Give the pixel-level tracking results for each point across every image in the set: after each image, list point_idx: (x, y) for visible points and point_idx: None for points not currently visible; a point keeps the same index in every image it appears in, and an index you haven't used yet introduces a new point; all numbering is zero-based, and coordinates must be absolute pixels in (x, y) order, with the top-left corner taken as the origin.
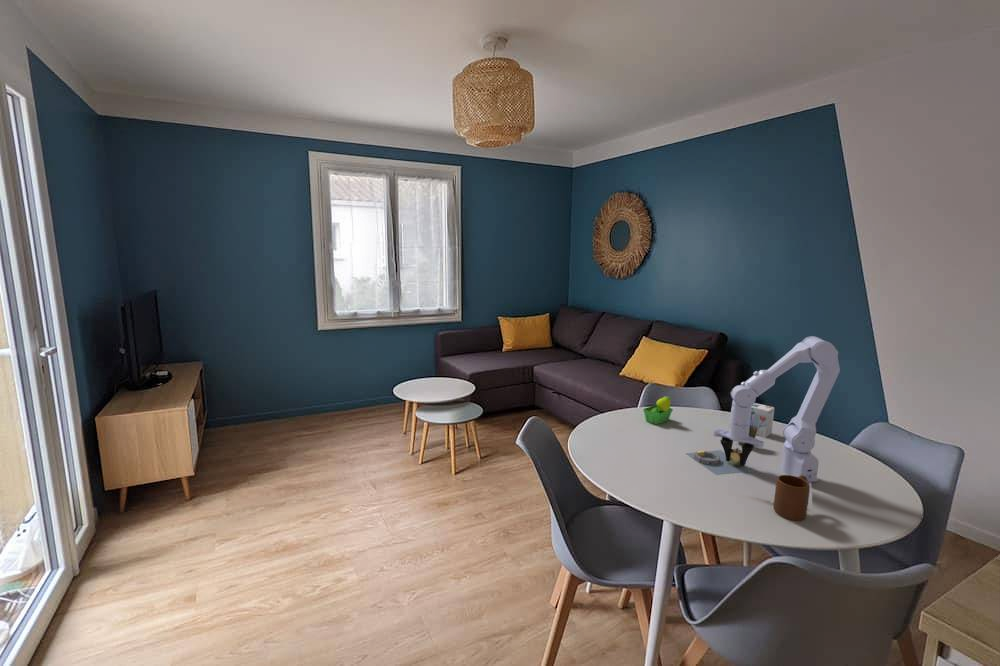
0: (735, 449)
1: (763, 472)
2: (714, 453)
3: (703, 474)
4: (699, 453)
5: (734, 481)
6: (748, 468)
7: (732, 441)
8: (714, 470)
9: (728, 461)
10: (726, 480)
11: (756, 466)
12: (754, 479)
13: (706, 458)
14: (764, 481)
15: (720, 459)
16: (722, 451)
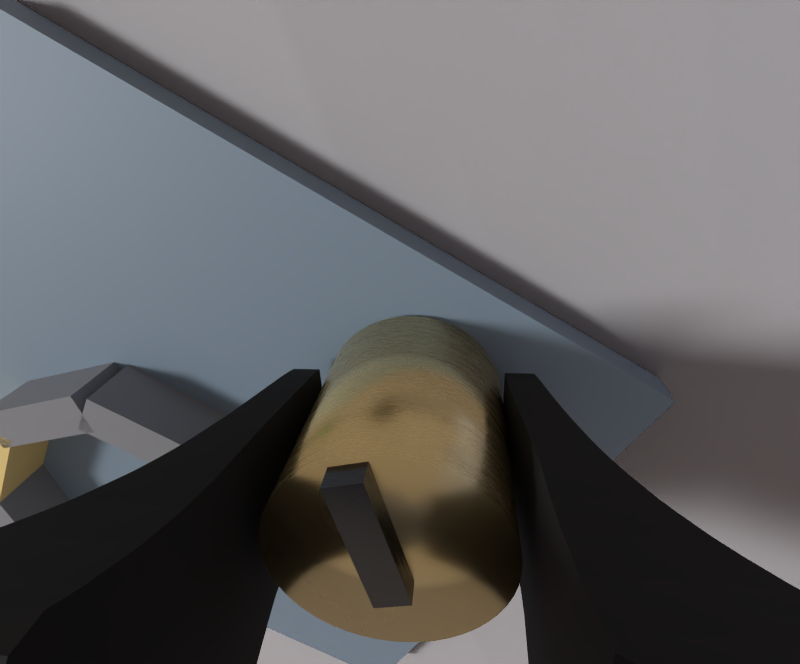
0: (322, 496)
1: (778, 243)
2: (98, 410)
3: (293, 646)
4: (11, 486)
5: (524, 627)
6: (589, 390)
7: (131, 618)
8: (331, 628)
9: (308, 359)
10: (466, 643)
11: (652, 86)
12: (682, 503)
13: (113, 449)
14: (794, 484)
15: (213, 368)
16: (23, 28)
